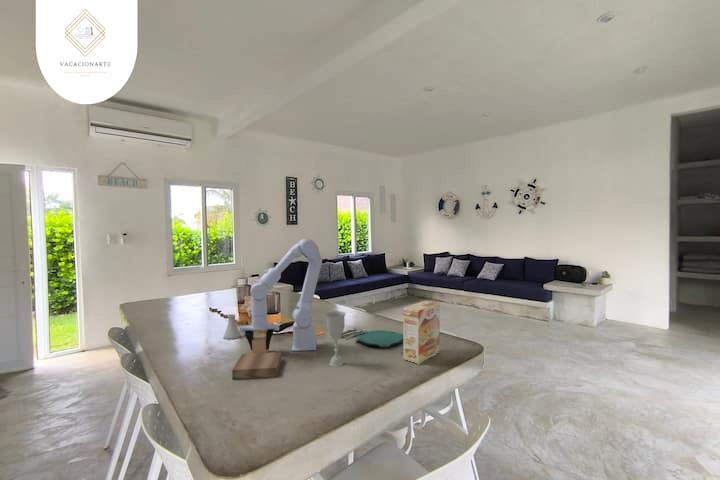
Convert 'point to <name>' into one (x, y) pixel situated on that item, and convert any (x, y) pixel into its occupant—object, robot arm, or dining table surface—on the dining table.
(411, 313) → the coffeecake box
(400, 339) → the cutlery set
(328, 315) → the chalice
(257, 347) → the terracotta block
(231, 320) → the flask
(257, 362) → the walnut base
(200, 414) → the dining table surface
